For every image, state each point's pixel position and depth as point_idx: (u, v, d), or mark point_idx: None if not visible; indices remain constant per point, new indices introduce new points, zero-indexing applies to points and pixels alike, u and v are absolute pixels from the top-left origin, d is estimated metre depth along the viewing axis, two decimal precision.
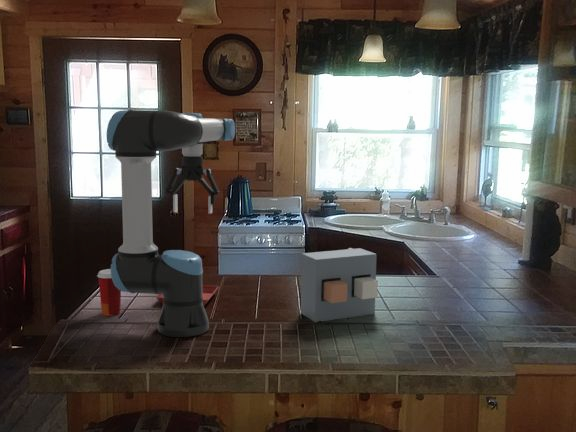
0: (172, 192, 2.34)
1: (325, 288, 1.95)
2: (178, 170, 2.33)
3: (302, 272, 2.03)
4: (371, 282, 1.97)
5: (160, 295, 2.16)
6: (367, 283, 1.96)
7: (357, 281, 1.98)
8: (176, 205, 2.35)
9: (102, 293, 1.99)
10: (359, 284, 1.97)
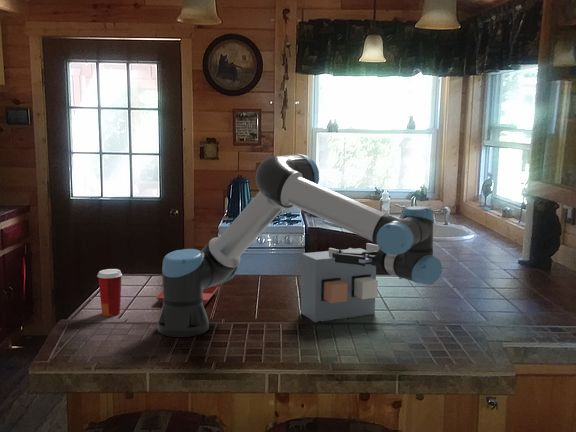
0: None
1: (325, 288, 1.95)
2: None
3: (302, 272, 2.03)
4: (371, 282, 1.97)
5: (160, 295, 2.16)
6: (367, 283, 1.96)
7: (357, 281, 1.98)
8: (371, 249, 1.89)
9: (102, 293, 1.99)
10: (359, 284, 1.97)
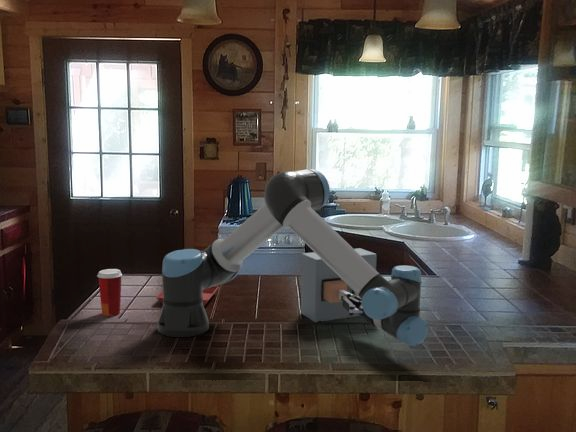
0: (356, 295, 1.86)
1: (325, 288, 1.95)
2: None
3: (302, 272, 2.03)
4: None
5: (160, 295, 2.16)
6: None
7: None
8: None
9: (102, 293, 1.99)
10: None
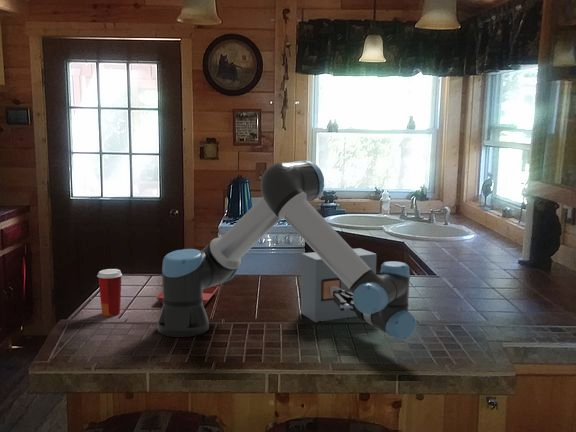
0: (348, 291, 1.90)
1: None
2: None
3: (302, 272, 2.03)
4: None
5: (160, 295, 2.16)
6: None
7: None
8: None
9: (102, 293, 1.99)
10: None
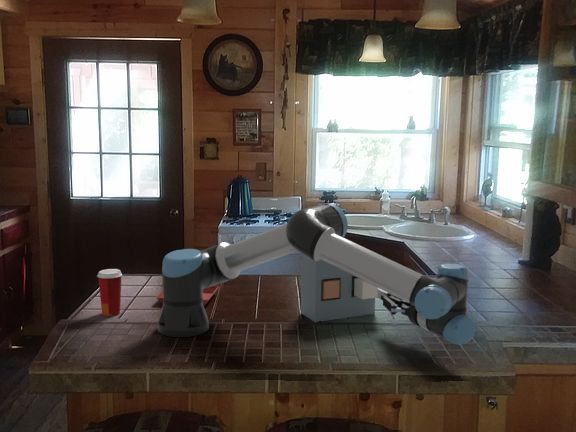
0: None
1: None
2: None
3: (302, 272, 2.03)
4: None
5: (160, 295, 2.16)
6: (367, 283, 1.96)
7: (357, 281, 1.98)
8: None
9: (102, 293, 1.99)
10: (359, 284, 1.97)
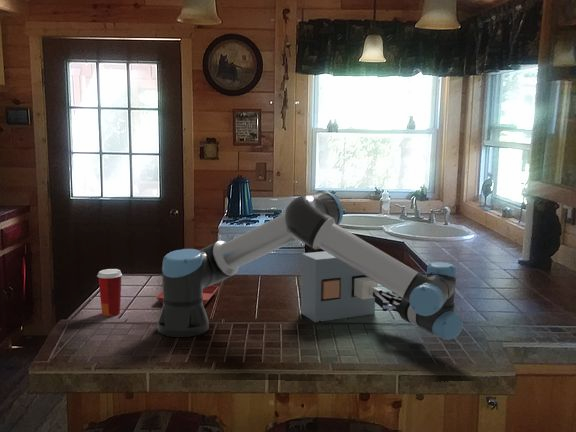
0: (388, 292, 1.91)
1: None
2: None
3: (302, 272, 2.03)
4: (371, 282, 1.97)
5: (160, 295, 2.16)
6: (367, 283, 1.96)
7: (357, 281, 1.98)
8: None
9: (102, 293, 1.99)
10: (359, 284, 1.97)
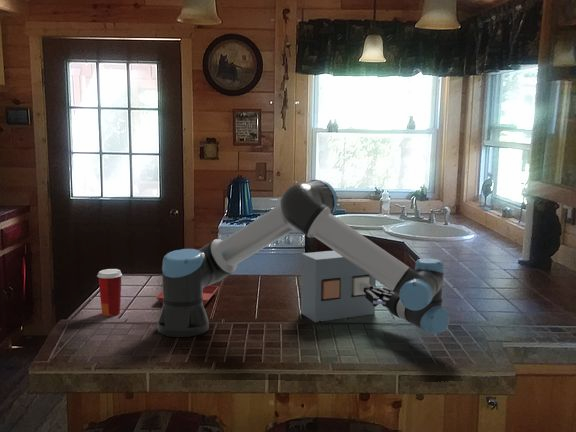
0: (378, 288, 1.95)
1: None
2: None
3: (302, 272, 2.03)
4: (363, 279, 2.01)
5: (160, 295, 2.16)
6: (359, 280, 2.01)
7: None
8: (366, 288, 1.99)
9: (102, 293, 1.99)
10: None
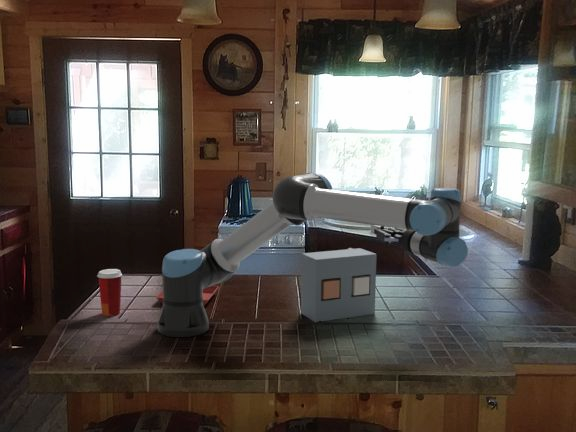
0: (390, 228, 1.85)
1: None
2: None
3: (302, 272, 2.03)
4: (363, 279, 2.01)
5: (160, 295, 2.16)
6: (359, 279, 2.01)
7: None
8: None
9: (102, 293, 1.99)
10: None
